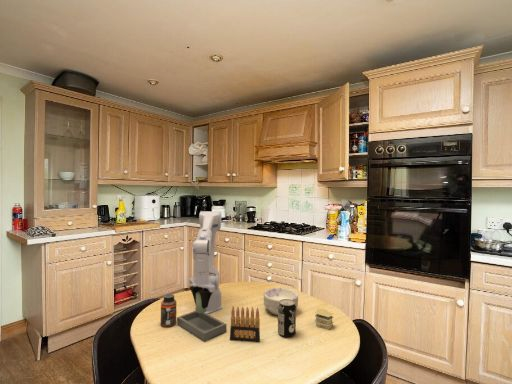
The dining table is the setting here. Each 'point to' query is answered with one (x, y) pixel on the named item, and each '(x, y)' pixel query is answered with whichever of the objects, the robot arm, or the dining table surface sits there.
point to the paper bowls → (278, 298)
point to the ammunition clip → (245, 326)
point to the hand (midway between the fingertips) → (201, 305)
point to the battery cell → (199, 304)
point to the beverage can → (286, 318)
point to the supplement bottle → (168, 311)
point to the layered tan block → (323, 318)
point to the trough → (201, 325)
